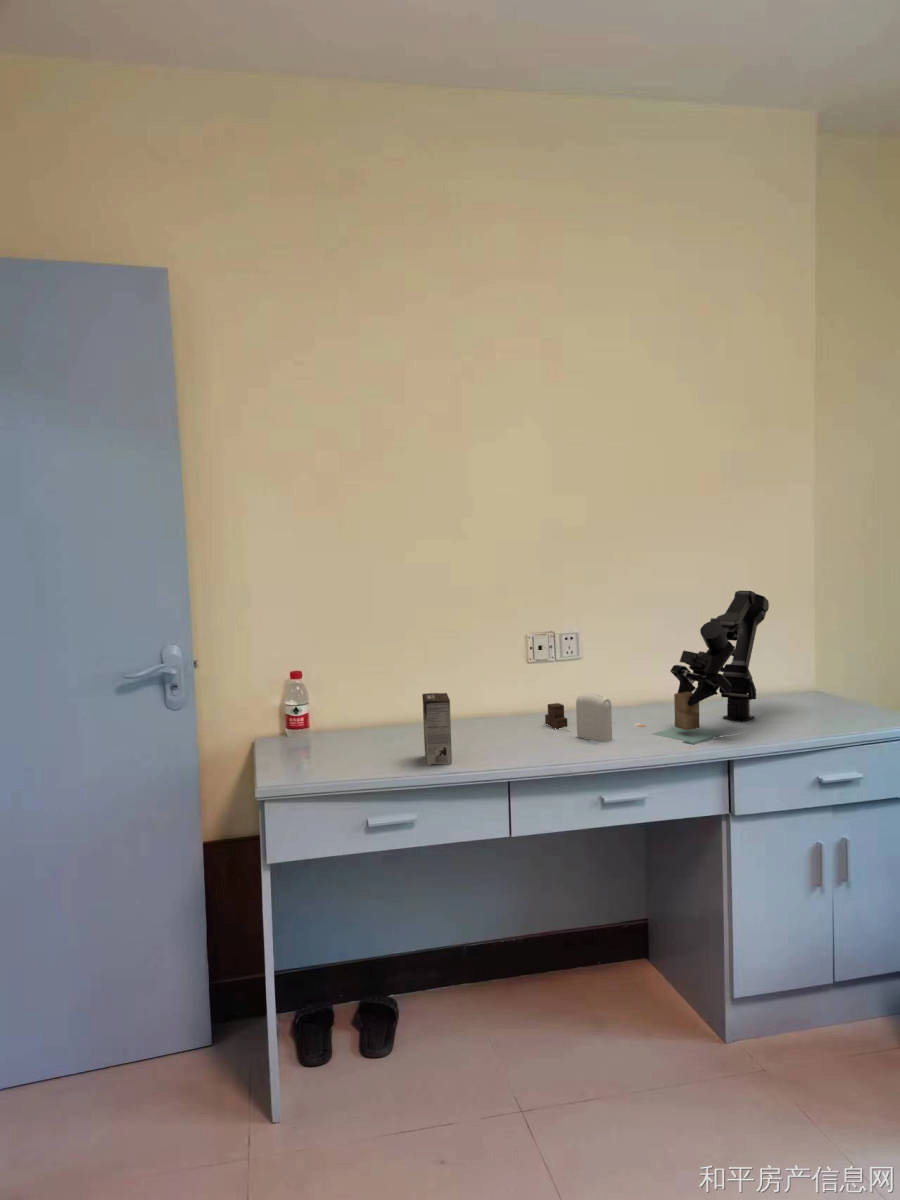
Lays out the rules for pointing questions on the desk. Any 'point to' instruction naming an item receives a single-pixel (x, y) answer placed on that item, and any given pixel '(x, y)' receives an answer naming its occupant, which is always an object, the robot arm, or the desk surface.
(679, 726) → the walnut block
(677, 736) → the teal pad
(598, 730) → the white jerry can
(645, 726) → the tile
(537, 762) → the desk surface
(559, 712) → the stack of crates
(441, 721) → the coffee box
